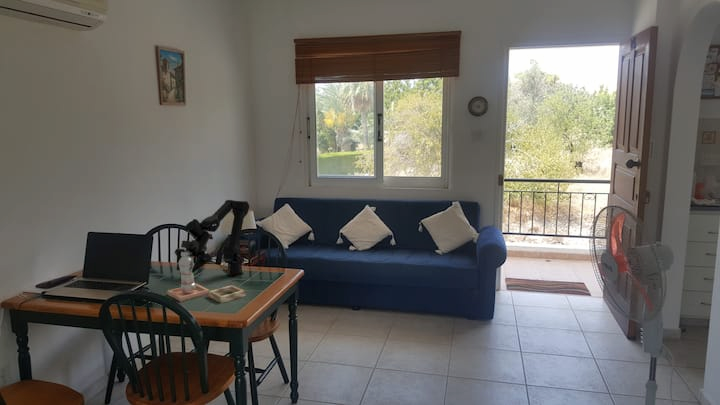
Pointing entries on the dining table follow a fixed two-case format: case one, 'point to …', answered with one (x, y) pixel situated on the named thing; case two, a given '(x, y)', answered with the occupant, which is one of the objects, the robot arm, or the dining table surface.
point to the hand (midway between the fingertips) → (184, 271)
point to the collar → (218, 297)
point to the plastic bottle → (187, 273)
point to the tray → (183, 297)
